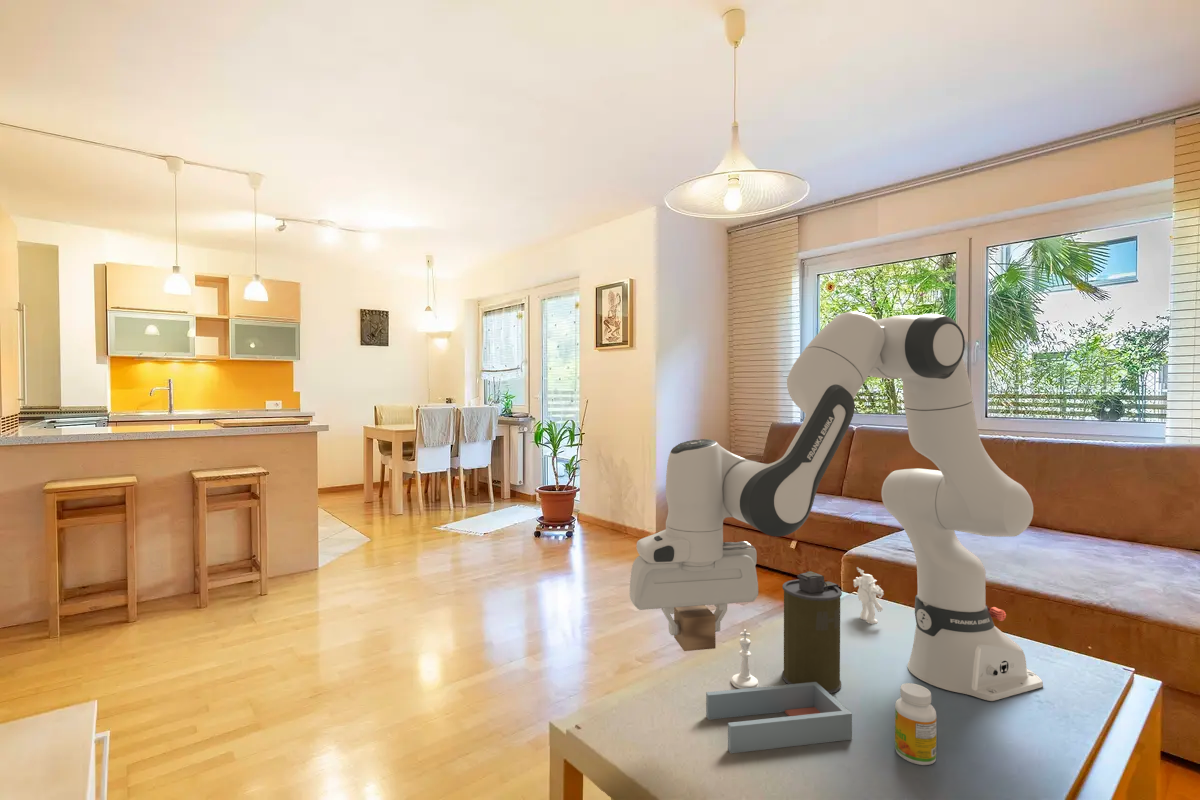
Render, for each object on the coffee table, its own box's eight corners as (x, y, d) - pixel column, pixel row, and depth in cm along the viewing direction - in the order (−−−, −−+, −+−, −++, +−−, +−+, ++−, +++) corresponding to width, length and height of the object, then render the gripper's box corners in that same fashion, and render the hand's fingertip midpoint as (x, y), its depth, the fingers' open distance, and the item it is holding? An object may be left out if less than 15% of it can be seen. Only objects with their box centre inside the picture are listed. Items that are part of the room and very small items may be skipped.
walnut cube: (703, 634, 91) (703, 604, 91) (715, 648, 86) (715, 615, 86) (674, 637, 90) (674, 606, 90) (684, 651, 86) (684, 618, 86)
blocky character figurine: (849, 613, 139) (849, 565, 139) (863, 612, 140) (864, 564, 140) (873, 628, 130) (873, 576, 130) (888, 627, 131) (888, 575, 131)
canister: (810, 700, 99) (811, 586, 99) (770, 673, 109) (770, 569, 109) (855, 687, 104) (856, 578, 104) (813, 662, 113) (813, 563, 113)
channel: (816, 704, 98) (816, 681, 98) (851, 739, 88) (852, 713, 88) (706, 716, 94) (706, 692, 94) (730, 753, 84) (730, 726, 84)
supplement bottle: (888, 743, 87) (888, 680, 87) (923, 744, 87) (924, 680, 87) (906, 766, 81) (906, 698, 81) (944, 767, 81) (944, 699, 81)
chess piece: (759, 691, 102) (759, 636, 102) (731, 688, 103) (731, 634, 103) (757, 678, 107) (757, 625, 107) (730, 675, 108) (731, 623, 108)
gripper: (747, 535, 93) (747, 619, 93) (626, 542, 90) (627, 628, 90) (765, 545, 87) (765, 635, 87) (636, 552, 83) (636, 646, 84)
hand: (694, 632), depth 88 cm, fingers closed on walnut cube, 5 cm apart
